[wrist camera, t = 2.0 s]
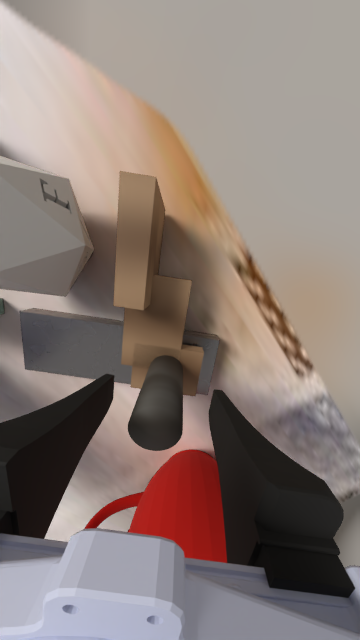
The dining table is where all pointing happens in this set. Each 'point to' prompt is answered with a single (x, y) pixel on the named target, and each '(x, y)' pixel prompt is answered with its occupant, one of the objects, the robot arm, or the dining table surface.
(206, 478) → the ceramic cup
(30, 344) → the rail
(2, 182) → the die
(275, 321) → the dining table surface
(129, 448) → the dining table surface
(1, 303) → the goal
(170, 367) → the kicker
